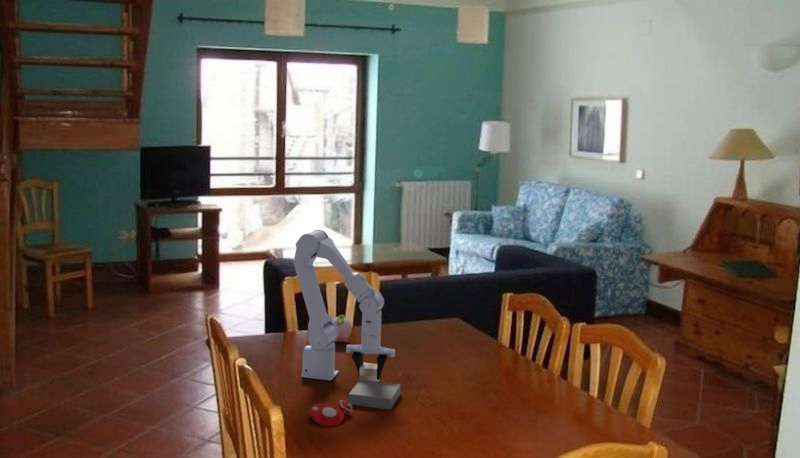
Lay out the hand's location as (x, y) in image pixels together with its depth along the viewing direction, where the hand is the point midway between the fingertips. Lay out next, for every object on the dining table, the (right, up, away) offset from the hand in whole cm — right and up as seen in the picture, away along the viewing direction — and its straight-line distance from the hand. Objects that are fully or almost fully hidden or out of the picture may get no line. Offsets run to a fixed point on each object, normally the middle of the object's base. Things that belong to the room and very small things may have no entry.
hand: (369, 377), depth 239 cm
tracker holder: (-9, -6, -28) cm, 30 cm away
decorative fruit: (-12, +5, +38) cm, 40 cm away
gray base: (+2, -4, -13) cm, 14 cm away
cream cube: (0, -1, 0) cm, 1 cm away
